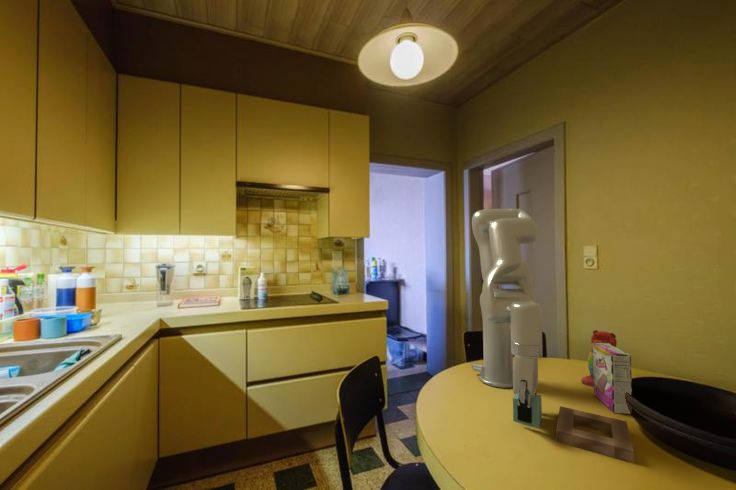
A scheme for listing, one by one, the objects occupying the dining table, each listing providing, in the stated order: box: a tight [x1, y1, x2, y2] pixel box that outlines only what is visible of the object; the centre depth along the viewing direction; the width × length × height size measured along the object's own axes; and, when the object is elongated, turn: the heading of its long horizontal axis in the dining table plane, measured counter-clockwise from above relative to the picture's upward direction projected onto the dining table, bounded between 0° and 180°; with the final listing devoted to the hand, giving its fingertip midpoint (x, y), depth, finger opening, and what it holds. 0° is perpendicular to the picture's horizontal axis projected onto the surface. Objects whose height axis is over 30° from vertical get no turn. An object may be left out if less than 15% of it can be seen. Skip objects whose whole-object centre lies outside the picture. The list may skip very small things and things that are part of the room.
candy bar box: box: [591, 342, 633, 416], centre depth 91 cm, size 11×5×16 cm, turn 168°
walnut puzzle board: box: [555, 405, 635, 464], centre depth 76 cm, size 14×14×2 cm
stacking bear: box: [580, 329, 618, 387], centre depth 104 cm, size 11×10×18 cm
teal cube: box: [512, 392, 543, 429], centre depth 84 cm, size 6×6×6 cm
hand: (527, 413), depth 84 cm, fingers open, 9 cm apart
